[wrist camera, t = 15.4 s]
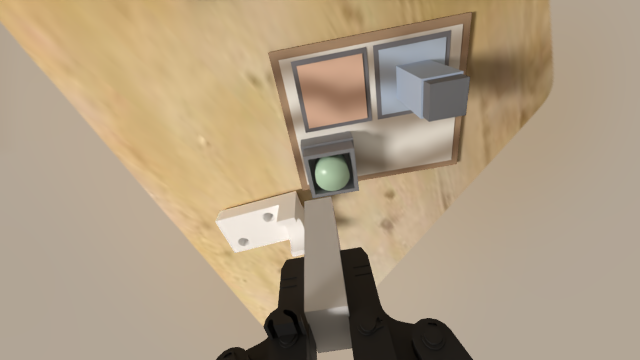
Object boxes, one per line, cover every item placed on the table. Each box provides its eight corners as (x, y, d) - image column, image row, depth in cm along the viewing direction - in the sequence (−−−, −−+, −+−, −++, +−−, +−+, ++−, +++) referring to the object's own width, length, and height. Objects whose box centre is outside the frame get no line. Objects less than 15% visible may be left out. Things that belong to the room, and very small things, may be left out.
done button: (312, 154, 36) (312, 164, 34) (344, 148, 36) (347, 158, 34) (317, 181, 39) (318, 193, 36) (348, 176, 38) (351, 187, 36)
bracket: (296, 187, 43) (294, 217, 37) (309, 220, 47) (309, 252, 41) (221, 207, 45) (207, 239, 38) (239, 238, 48) (229, 272, 42)
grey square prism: (396, 65, 33) (428, 82, 25) (428, 59, 33) (472, 74, 24) (397, 98, 35) (426, 124, 27) (427, 92, 35) (467, 116, 26)
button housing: (300, 139, 38) (300, 155, 34) (350, 130, 38) (356, 145, 33) (310, 181, 41) (310, 200, 37) (355, 173, 41) (361, 191, 37)
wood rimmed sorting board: (268, 52, 33) (267, 53, 32) (468, 12, 32) (474, 12, 31) (302, 187, 43) (302, 192, 42) (454, 161, 42) (458, 165, 41)
